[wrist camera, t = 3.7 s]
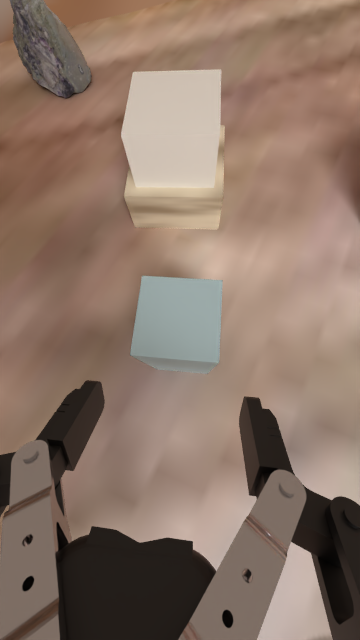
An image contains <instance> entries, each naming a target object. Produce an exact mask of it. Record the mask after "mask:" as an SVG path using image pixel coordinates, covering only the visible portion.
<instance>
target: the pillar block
mask: <svg viewBox="0 0 360 640" xmlns="http://www.w3.org/2000/svg"><path fill="white" fill-rule="evenodd" d="M221 304H222V280H209V279H191V278H174V277H157V276H142V280H141V286H140V293H139V299H138V306H137V312H136V319H135V325H134V332H133V338H132V345H131V351H130V356H132V357H134V358H136V359H138V360H140V361H142V362H144V363H146V364H148V365H150V366H151V367H153V368H155V369H159V370H170V371H182V372H193V373H204V374H208V373H209V372H210V371H211V370H212V369H213V368H214V367H215V366H216V365H217V364H218V363H219V353H220V328H221Z"/></svg>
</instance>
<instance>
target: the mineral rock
mask: <svg viewBox="0 0 360 640" xmlns="http://www.w3.org/2000/svg"><path fill="white" fill-rule="evenodd" d="M10 2H11V6H12V9H13V12H14V16H13V23H14V28H13V35H14V37H13V40H14V43H15V45H16V48H17V50H18V54H19V57H20V58H21V60H22V62H23V65H24V66H25V67H26V68H27V71H28V72H29V73H30V74H32V76H33V80H36V81H37V83H38V84H39V85H41V86H43V87H46V88H47V89H49V90H50V91H52V92H53V93H55V94H56V95H58V96H63V97H64V98H67V97H70V96H71V95H73V93H74V92H75V93H80V92H83V91H84V90H85V88H86V87H87V85H88V84H89V83H90V81H91V77H92V76H91V71H90V68H89V67H88V66H87V63H86V61H85V58H84V56H83V54H82V52H81V50H80V49H79V47H78V45H77V44H76V42H75V40H74V39H73V37H72V36H71V34H70V32H69V31H68V29H67V27H66V26H65V25H64V24H63V23H62V22H61V21H60V20H59V18H58V17H57V16H56V15H55V14H54V13H53V12H52V11H51V10H50V9H49V8H48V7H47V5H46V4H45V2H44V1H43V0H10Z"/></svg>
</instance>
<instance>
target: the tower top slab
mask: <svg viewBox="0 0 360 640" xmlns="http://www.w3.org/2000/svg"><path fill="white" fill-rule="evenodd" d="M220 106H221V70H186V71H150V72H133V76H132V81H131V86H130V91H129V96H128V102H127V107H126V112H125V117H124V122H123V127H122V132H121V137H122V140H123V144H124V147H125V151H126V154H127V158H128V162H129V165H130V169H131V172H132V176H133V179H134V183H135V186H136V187H174V188H214V184H215V175H216V165H217V156H218V147H219V138H220Z"/></svg>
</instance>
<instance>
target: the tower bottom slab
mask: <svg viewBox="0 0 360 640" xmlns="http://www.w3.org/2000/svg"><path fill="white" fill-rule="evenodd" d="M224 129H225V126H220V138H219V147H218V156H217V165H216V175H215V184H214V188H174V187H136V186H135V183H134V179H133V176H132V172H131V169H130V165H129V170H128V176H127V182H126V187H125V193H124V198H125V201H126V204H127V206H128V209H129V212H130V215H131V218H132V220H133V223H134V226H135V228H178V229H218V227H219V220H220V214H221V208H222V202H223V182H224Z"/></svg>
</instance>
